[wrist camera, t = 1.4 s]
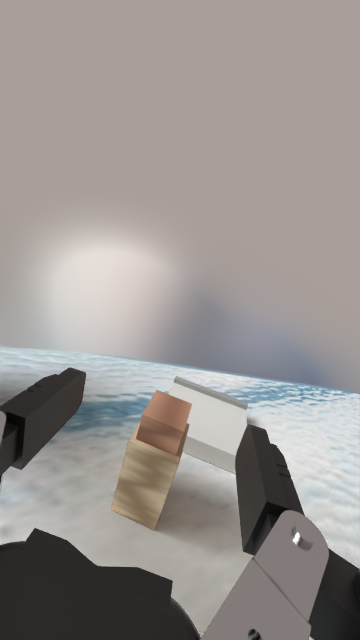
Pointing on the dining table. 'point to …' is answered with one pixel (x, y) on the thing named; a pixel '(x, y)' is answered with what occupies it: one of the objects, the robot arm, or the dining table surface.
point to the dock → (212, 423)
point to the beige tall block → (152, 459)
